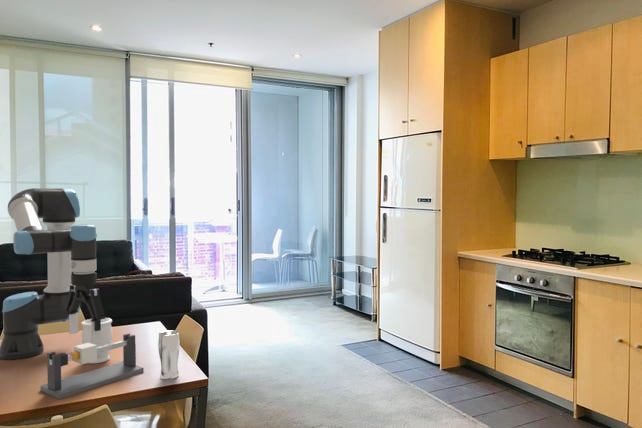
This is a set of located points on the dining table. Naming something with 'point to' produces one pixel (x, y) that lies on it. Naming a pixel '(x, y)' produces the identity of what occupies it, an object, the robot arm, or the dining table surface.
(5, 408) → the dining table surface
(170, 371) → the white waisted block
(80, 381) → the rod support stand
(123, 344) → the guide rod
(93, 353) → the sleeve
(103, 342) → the jar
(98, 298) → the robot arm
